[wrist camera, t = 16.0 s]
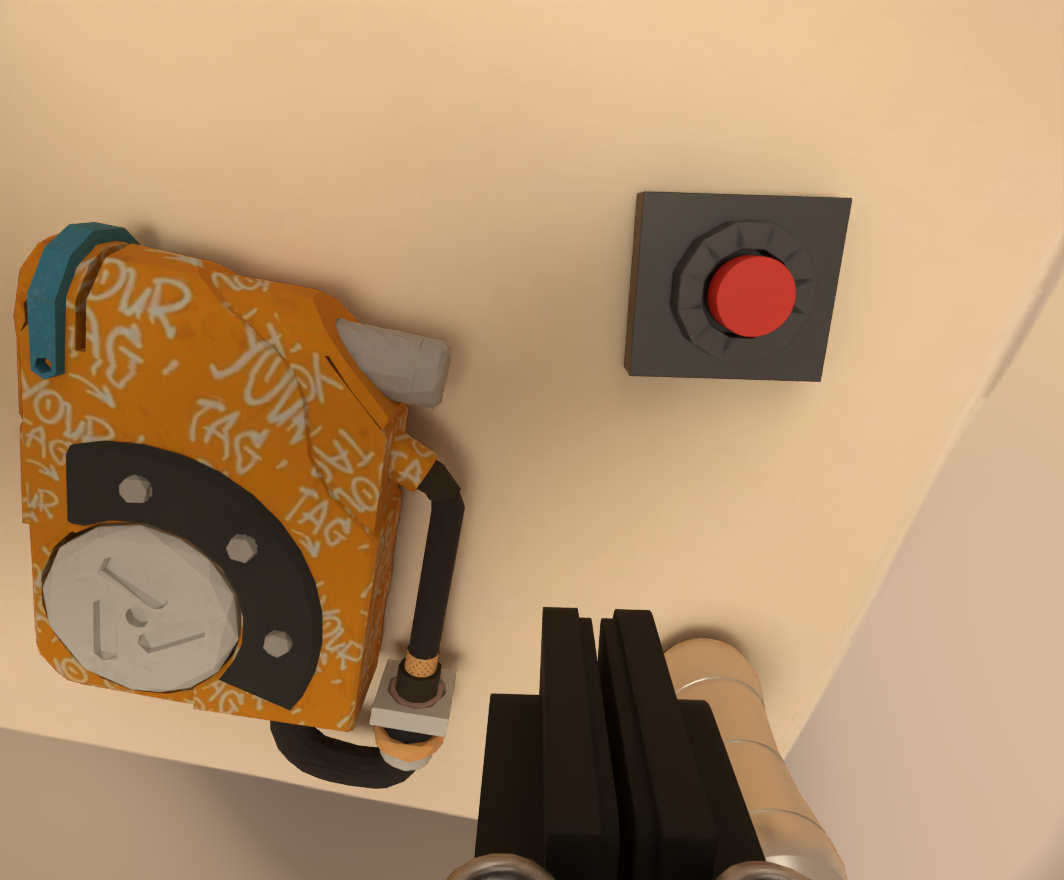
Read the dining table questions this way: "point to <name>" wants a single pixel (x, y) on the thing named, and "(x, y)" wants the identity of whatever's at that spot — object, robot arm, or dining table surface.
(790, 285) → the power button
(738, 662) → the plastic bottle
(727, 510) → the dining table surface
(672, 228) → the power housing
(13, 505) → the dining table surface
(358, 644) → the device
